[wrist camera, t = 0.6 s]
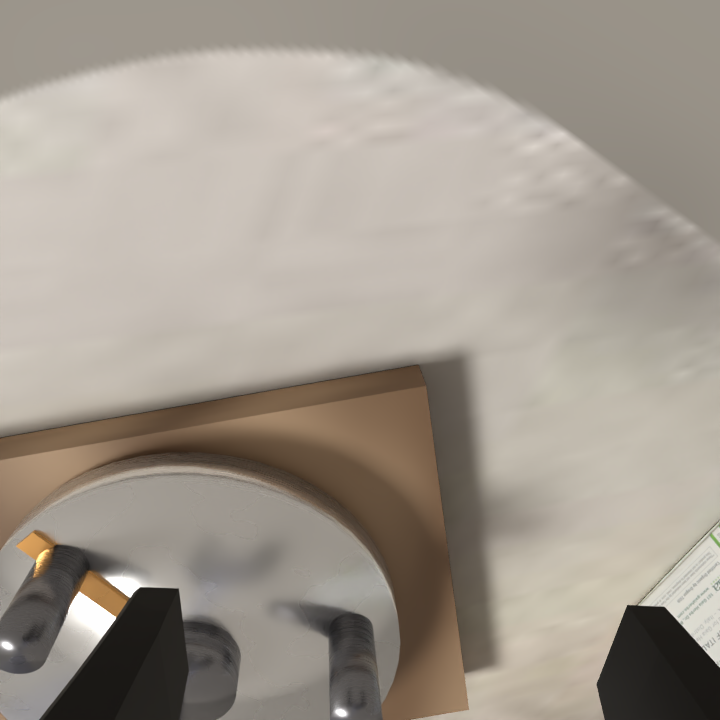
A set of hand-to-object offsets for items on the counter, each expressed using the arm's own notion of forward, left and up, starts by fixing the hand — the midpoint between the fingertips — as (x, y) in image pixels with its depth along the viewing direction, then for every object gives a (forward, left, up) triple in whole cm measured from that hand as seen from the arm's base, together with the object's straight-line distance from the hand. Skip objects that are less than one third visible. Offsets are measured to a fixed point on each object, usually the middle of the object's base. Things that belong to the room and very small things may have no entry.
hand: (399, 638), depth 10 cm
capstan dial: (-7, -7, -8) cm, 13 cm away
